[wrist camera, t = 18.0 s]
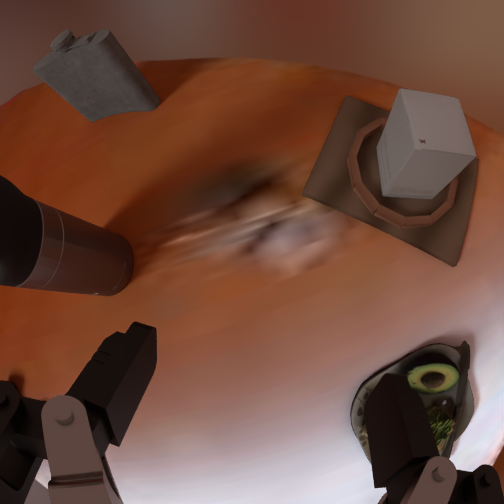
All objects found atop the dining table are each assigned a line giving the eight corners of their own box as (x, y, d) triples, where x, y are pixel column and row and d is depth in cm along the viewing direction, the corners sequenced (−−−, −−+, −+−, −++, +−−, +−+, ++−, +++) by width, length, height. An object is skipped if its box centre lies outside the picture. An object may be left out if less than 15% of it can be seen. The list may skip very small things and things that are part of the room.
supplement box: (432, 201, 33) (478, 159, 21) (380, 197, 34) (412, 149, 22) (424, 150, 34) (460, 97, 22) (375, 145, 35) (397, 85, 23)
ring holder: (302, 195, 37) (302, 187, 34) (345, 99, 38) (347, 88, 36) (452, 266, 32) (461, 264, 30) (475, 161, 33) (483, 154, 31)
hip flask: (87, 123, 46) (20, 66, 27) (93, 106, 47) (32, 47, 27) (157, 110, 43) (94, 29, 24) (163, 91, 44) (107, 10, 24)
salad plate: (483, 430, 27) (498, 440, 22) (379, 492, 28) (385, 509, 24) (455, 321, 31) (472, 323, 27) (335, 389, 33) (339, 400, 28)
